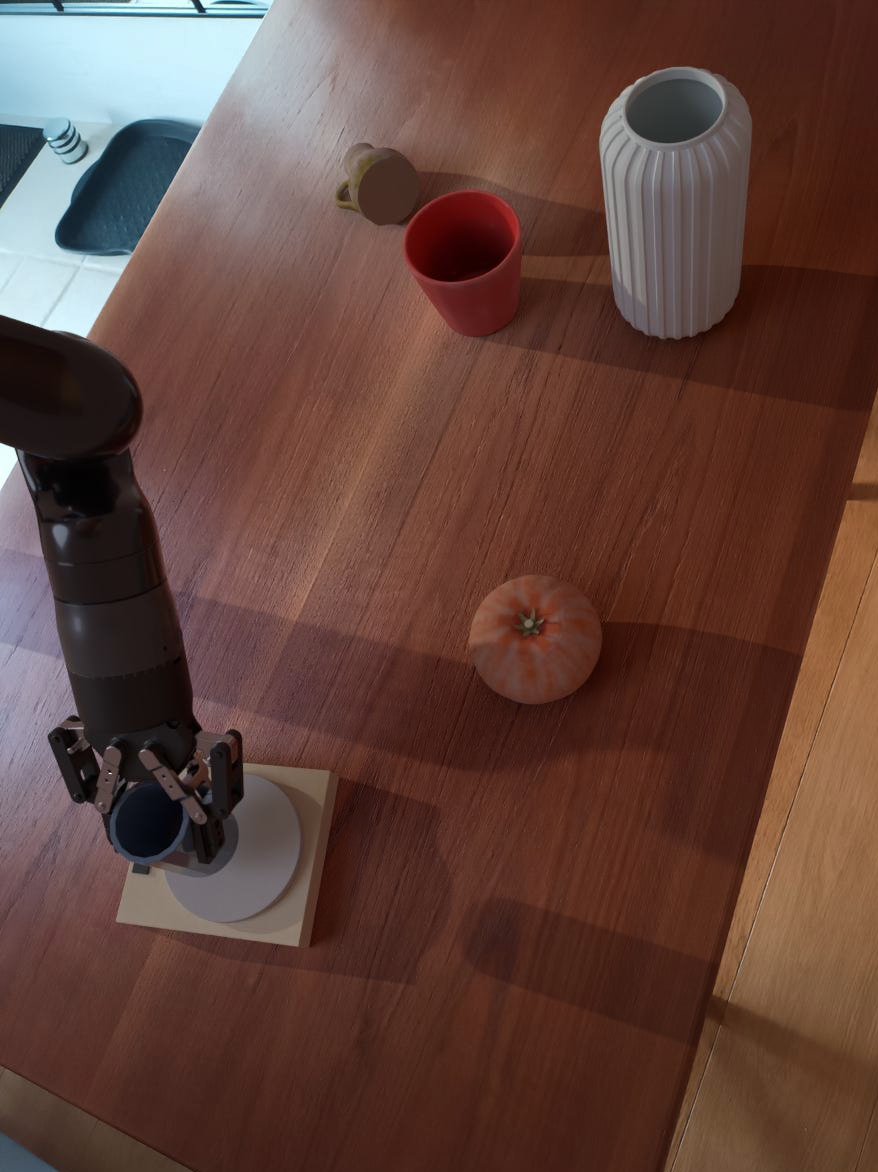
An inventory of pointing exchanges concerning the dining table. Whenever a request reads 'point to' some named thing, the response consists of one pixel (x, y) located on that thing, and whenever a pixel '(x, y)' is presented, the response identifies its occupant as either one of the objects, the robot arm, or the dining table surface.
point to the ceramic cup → (163, 833)
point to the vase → (676, 199)
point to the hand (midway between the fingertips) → (169, 851)
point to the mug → (379, 184)
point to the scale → (250, 866)
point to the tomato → (535, 639)
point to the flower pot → (467, 259)
